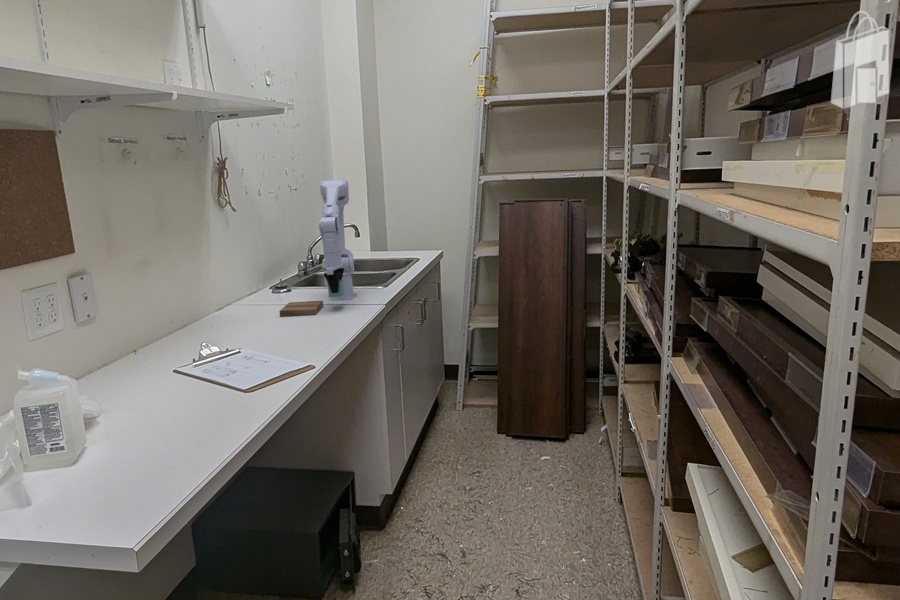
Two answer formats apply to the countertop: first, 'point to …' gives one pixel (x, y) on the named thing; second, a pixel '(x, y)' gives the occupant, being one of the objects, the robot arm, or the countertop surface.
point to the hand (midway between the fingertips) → (336, 291)
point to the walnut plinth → (301, 308)
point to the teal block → (340, 291)
